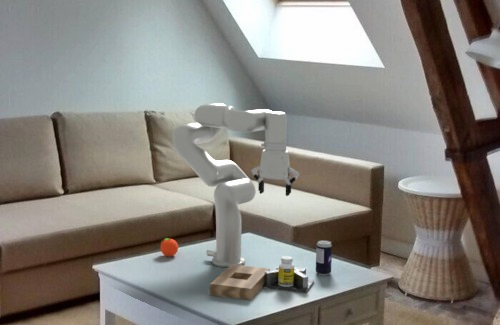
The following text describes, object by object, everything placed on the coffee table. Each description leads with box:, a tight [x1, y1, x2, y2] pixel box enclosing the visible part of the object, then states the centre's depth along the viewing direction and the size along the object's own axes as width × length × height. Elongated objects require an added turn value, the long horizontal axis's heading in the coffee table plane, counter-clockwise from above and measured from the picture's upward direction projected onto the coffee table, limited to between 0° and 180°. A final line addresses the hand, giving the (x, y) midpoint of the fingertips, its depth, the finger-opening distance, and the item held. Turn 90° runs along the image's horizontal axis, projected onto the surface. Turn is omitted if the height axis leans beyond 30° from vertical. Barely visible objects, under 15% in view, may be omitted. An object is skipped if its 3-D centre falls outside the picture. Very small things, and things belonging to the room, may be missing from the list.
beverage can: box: [315, 239, 333, 276], centre depth 273 cm, size 6×6×12 cm
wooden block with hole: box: [209, 264, 271, 301], centre depth 258 cm, size 14×22×4 cm, turn 162°
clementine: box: [160, 237, 179, 257], centre depth 292 cm, size 8×7×7 cm
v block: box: [261, 265, 315, 294], centre depth 261 cm, size 16×11×5 cm
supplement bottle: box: [278, 255, 295, 287], centre depth 258 cm, size 5×5×10 cm
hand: (274, 194), depth 266 cm, fingers open, 9 cm apart
